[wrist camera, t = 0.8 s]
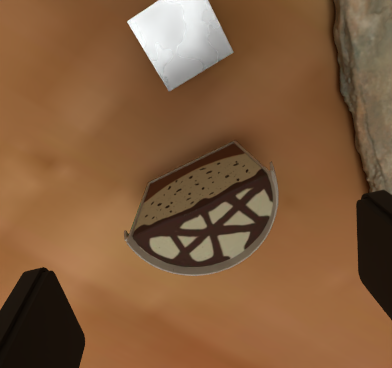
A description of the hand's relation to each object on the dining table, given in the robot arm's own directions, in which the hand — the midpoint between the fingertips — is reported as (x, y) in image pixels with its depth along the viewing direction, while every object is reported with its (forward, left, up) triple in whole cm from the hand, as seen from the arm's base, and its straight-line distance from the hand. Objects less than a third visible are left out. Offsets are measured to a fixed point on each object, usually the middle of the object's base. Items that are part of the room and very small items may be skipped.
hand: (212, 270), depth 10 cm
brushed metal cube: (-3, -6, -23) cm, 23 cm away
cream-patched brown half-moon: (+2, +7, -23) cm, 24 cm away
